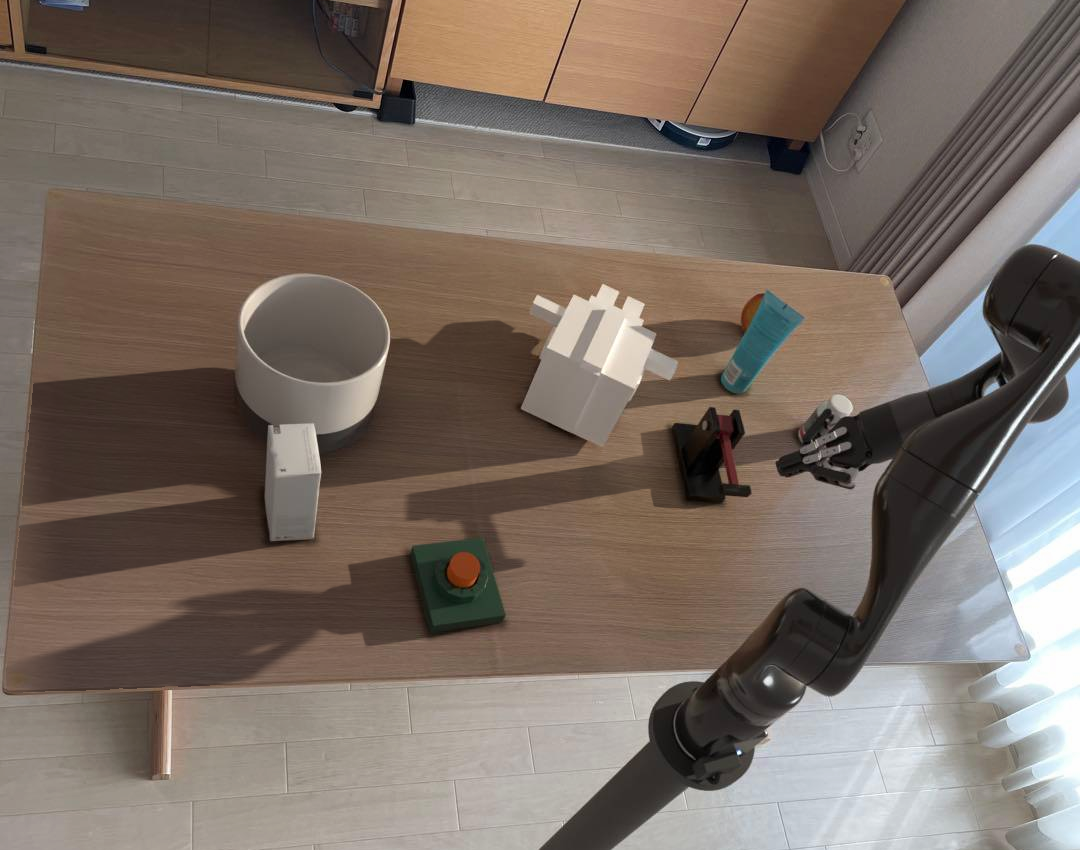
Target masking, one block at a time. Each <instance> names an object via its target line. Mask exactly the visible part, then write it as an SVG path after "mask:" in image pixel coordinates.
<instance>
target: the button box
mask: <svg viewBox="0 0 1080 850" xmlns="http://www.w3.org/2000/svg"><path fill="white" fill-rule="evenodd" d="M485 543H486V542H485V539H484V538H483V537H479V538H470V539H469V538H468V539H459V540H452V541H451V540H450V541H442V542H434V543H433V542H432V543H425V544H424V543H423V544H416V545H414V544H413V545H412V546H411V550H410V552H409V556H410V560H411V563H412V567H413V571H414V575H415V580H416V583H417V588H418V591H419V595H420V599H421V603H422V607H423V611H424V616H425V619H426V623H427V627H428V630H429V633H430V634H432V633H440V632H446V631H453V630H459V629H467V628H474V627H479V626H480V627H481V626H487V625H495V624H501V623H503V622H504V619H505V618H506V615H507V614H506V610H505V608H504V604H503V600H502V597H501V594H500V590H499V586H498V584H497V580H496V577H495V574H494V569H493V567H492V563H491V561H490V557H489V553H488V550H487V547H486V544H485ZM461 552H467V553H470V554H472V555H474V556H475V557H476V558H477V559H478V561H479V563H480V572H479V574H478V576H477V578H476V580H475V582H474V584H473V585H472V586H470V587H468V588H458V587H455V586H454V585H452V584H451V583H450V582H449V580H448V578H447V575H446V572H447V568H448V566H449V563H450V561H451V559H452V557H453V556H454V555H456V554H457V553H461Z"/></svg>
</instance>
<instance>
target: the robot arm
mask: <svg viewBox="0 0 1080 850" xmlns="http://www.w3.org/2000/svg"><path fill="white" fill-rule="evenodd" d="M981 311H982V317H983V320H984V322H985V324H986V325H987V326H988V328H989V329H990V331H991V333H992V335H993V338H994V339H995V341H996V343H997V345H998V347H999V349H1000V351H999V353H996V354H995V355H994V356H993V357H992V358H990V359H989V360H987V361H985V362H984V363H982V364H981V365H980V366H978V367H976V368H974V369H972V370H971V371H969V372H968V373H966V374H963V375H962V376H960V377H957V378H956V379H953V380H950V381H948V382H945V383H942V384H939V385H937V386H935V387H934V386H933V387H931V388H928V389H927V390H922V391H918V392H913V393H910V394H907V395H903V396H901V397H898V398H895V399H892V400H890V401H887V402H884V403H882V404H878V405H875V406H873V407H870V408H867V409H863V410H861V411H860V412H859V413H858V414H856V415H854V416H853V415H851V416H850V415H849V416H845V417H843V418H840V417H838V416H837V415H835V414H833V413H832V411H831V409H825V410H824V411H823V412H822V414H821V415H820V416H819V417H818V418H817V420H816V421H815V422H814V423H813V425H812V426H811V427H810V428H809V429H808V431H807V432H806V433H805V434H804V436H803V437H802V441H803V443H802V442H801V447H800V449H799V450H796V451H792V452H790V453H788V454H785V455H781V456H780V457H779V458H778V460H776V461H775V467H776V471H777V474H778V475H779V476H780V477H784V478H792V477H794V476H797V475H800V474H803V473H806V472H807V473H810V474H811V475H812V477H813V478H814V479H815V481H817V482H820V483H824V484H828V485H831V486H834V487H835V486H836V487H838V488H839V487H840V488H842V489H845V490H846V489H847V490H854V489H855V488H856V482H855V481H856V478H857V476H858V474H859V472H863V471H864V470H866V469H867V468H868V467H870V466H871V465H875V464H881V463H885V462H889V461H890V462H889V464H888V465H887V466H886V468H885V470H884V471H883V472H882V474H881V475H880V477H879V479H878V480H877V481H876V484H875V486H874V490H873V495H872V502H871V517H870V519H871V523H870V524H871V527H870V528H871V554H870V555H871V557H870V565H869V566H870V567H869V574H868V580H867V584H866V587H865V591H864V593H863V596H862V598H861V601H860V603H859V604H858V606H857V608H856V609H855V611H854V613H853V614H851V613H849V612H847V611H846V610H844V609H842V608H841V607H839V606H838V605H836V604H834V603H832V602H831V601H829V600H827V599H826V598H824V597H823V596H821V595H819V594H818V593H816V592H814V591H812V590H811V589H809V588H806V587H798V588H795V589H793V590H791V591H790V592H788V593H787V594H786V595H785V596H784V597H782V599H780V601H779V602H778V603H777V604H776V605H775V606H774V608H772V609H771V611H770V613H769V614H768V615H767V616H766V617H765V618H764V619H763V621H762V622H761V623H760V624H759V625H758V626H757V627H756V628H755V629H754V630H753V632H751V634H749V636H748V637H747V638H746V639H745V641H743V643H742V644H741V645H740V646H739V648H737V649H736V650H735V651H734V652H733V653H732V654H731V655H730V656H729V657H728V658H727V659H726V660H725V661H724V662H723V663H722V664H721V665H720V666H719V667H718V668H717V669H716V670H715V671H713V673H712V674H711V675H710V676H709V677H708V678H707V679H706V680H705V681H703V682H704V683H703V684H702V685H701V686H700V687H697V688H695V689H694V690H693V691H692V692H694V691H695V692H694V693H693V694H692V695H691V696H690V697H689V698H688V699H687V700H686V701H684V702H683V703H682V704H681V705H680V706H679V707H678V708H677V709H676V711H675V713H674V715H673V718H672V733H673V737H674V740H675V742H676V744H677V746H678V748H679V749H680V750H681V752H682V753H683V754H684V755H685V756H686V757H687V758H689V759H690V760H691V761H693V762H694V764H693V765H692V768H693V771H694V774H695V777H696V779H697V780H701V779H706V780H707V781H708V782H709V783H711V784H712V785H717V784H718V783H719V782H720V780H721V777H722V775H723V774H727V773H731V772H733V771H734V770H735V769H737V768H738V767H739V766H741V765H742V764H741V761H740V759H739V758H741V757H742V756H743V755H745V754H746V753H747V752H748V751H750V750H751V749H752V748H754V747H755V748H756V746H758V745H759V744H760V743H761V742H762V741H764V740H765V739H767V738H768V736H769V733H768V729H769V728H770V727H771V726H773V725H774V724H776V722H778V721H779V720H781V718H783V717H784V716H786V714H788V713H789V712H790V711H792V710H794V708H796V707H797V706H798V705H799V704H800V702H801V701H802V700H803V698H804V696H805V693H806V691H807V688H809V689H811V690H812V691H814V692H816V693H817V694H819V695H821V696H824V697H827V698H832V697H836V696H838V695H839V694H841V693H842V692H844V691H845V690H846V689H847V688H848V687H849V686H850V685H851V683H852V682H853V681H855V679H856V677H857V676H858V675H859V674H860V672H861V670H862V669H863V668H864V666H865V665H866V663H867V661H868V660H869V658H870V657H871V655H872V654H873V652H874V650H875V648H876V647H877V645H878V643H879V642H880V640H881V638H882V637H883V636H884V634H885V632H886V631H887V629H888V627H889V625H890V624H891V622H892V621H893V619H894V617H895V616H896V614H897V612H898V611H899V609H900V608H901V606H902V604H903V602H904V601H905V599H906V598H907V596H908V594H910V591H911V590H912V588H913V587H914V585H915V584H916V583H917V581H918V580H919V578H920V577H921V576H922V574H923V572H924V571H925V570H926V568H927V567H928V566H929V564H930V563H931V562H932V560H933V559H934V558H935V557H936V554H937V553H938V552H939V551H940V549H941V548H942V546H943V545H944V543H946V541H947V540H948V539H949V537H950V536H951V534H953V532H954V531H955V529H956V528H957V527H958V525H959V524H960V523H961V522H962V520H963V519H964V518H965V517H966V515H967V514H968V512H969V511H970V509H971V508H972V507H973V505H974V504H975V502H976V501H977V499H979V497H980V495H981V494H982V492H983V491H984V489H985V488H986V487H987V485H988V483H989V481H990V480H991V479H992V477H993V476H994V474H995V473H996V471H997V470H998V468H999V467H1000V465H1001V464H1002V462H1003V461H1004V459H1005V458H1006V456H1007V455H1008V453H1009V451H1010V450H1011V448H1012V447H1013V445H1014V444H1015V442H1017V440H1018V438H1019V437H1020V435H1021V434H1022V432H1023V431H1024V429H1025V428H1026V427H1027V426H1028V425H1031V424H1032V425H1033V424H1034V425H1036V424H1040V423H1044V422H1047V421H1049V420H1051V419H1053V418H1055V417H1056V416H1057V415H1059V414H1060V413H1061V412H1062V411H1063V410H1064V408H1065V407H1066V405H1067V403H1068V401H1069V397H1070V391H1069V386H1068V381H1067V376H1066V375H1068V373H1069V372H1070V370H1071V369H1072V368H1073V367H1074V365H1075V364H1076V363H1077V362H1078V360H1079V359H1080V260H1078V259H1076V258H1073V257H1071V256H1069V255H1067V254H1064V253H1062V252H1059V251H1058V250H1056V249H1053V248H1051V247H1048V246H1046V245H1041V244H1035V243H1031V244H1026V245H1023V246H1020V247H1019V248H1018V249H1016V250H1015V251H1013V252H1012V253H1011V255H1009V257H1008V258H1007V259H1005V261H1004V262H1003V263H1002V265H1001V266H1000V268H999V269H998V270H997V271H996V273H995V275H994V277H993V279H992V280H991V282H990V283H989V286H988V288H987V290H986V292H985V295H984V297H983V302H982V310H981ZM996 383H997V385H998V388H996V389H994V390H993V391H991V392H990V393H987V394H986V392H987V390H988V389H989V387H991V386H992V385H993V384H996ZM985 394H986V395H985ZM829 430H830V431H829ZM828 431H829V433H828V434H827V435H825V434H826V433H827V432H828ZM825 445H826V447H824V446H825ZM835 468H840V470H836V469H835ZM692 692H691V693H692ZM714 776H715V778H713V777H714Z"/></svg>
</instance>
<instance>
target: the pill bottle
mask: <svg viewBox="0 0 1080 850" xmlns="http://www.w3.org/2000/svg"><path fill="white" fill-rule="evenodd" d="M853 407H854V406H853V404H852V402H851V401H850V400H849V399H848V398H847V397H846V396H844V395H842V394H834V395H832V396H831V397H830V398H829V399H828V400H825V401H823V402H821V403H819V405H818V406H817V407H816V408H815V410H814V411H813V412H812V414H810V416H809V417H808V418H807V419H806V421H805V422H804V423H803V424H802V425H801V427H800V428H799V430H798V439H799V441H800V442H801V444H802V443H803V441H802V437H803V436H804V434H805V433H806V432H807V431H808V429H809V428H810V427H811V426H812V425H813V423H814V422H815V421H816V420H817V418H818V417H819V416H820V415H821V414H822V412H823V411H824V410H825V409H831V411H832V413H833V414H835V415H837V416H838V417H840V418H843V417H845V416H850V414H852V412H853ZM829 431H830V430H829ZM829 431H828V432H827V433H826V434H825V435H827V434H828V433H829ZM824 447H826V445H825V446H824Z"/></svg>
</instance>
